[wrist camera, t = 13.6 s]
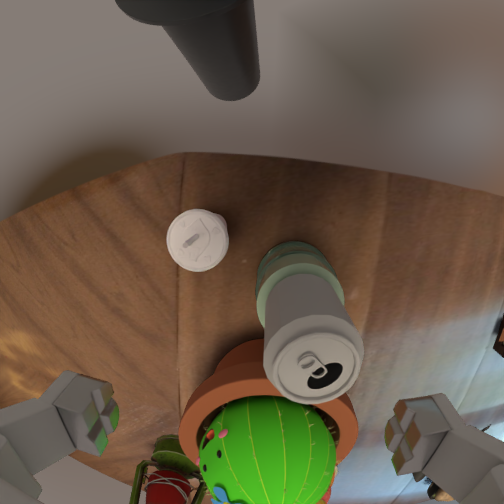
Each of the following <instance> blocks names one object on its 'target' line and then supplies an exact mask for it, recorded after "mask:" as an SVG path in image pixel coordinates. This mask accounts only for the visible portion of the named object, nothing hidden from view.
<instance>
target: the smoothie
mask: <svg viewBox="0 0 504 504" xmlns="http://www.w3.org/2000/svg"><path fill="white" fill-rule="evenodd" d="M228 243H229V237H228V232H227V224H226V221H225V219H224V218H223V217H222V216H221V215H219V214H216V213H212V212H209V211H206V210H203V209H193V210H188V211H186V212H184V213H182V214H180V215H179V216H178V217H176V218H175V219H174V221H173V222H172V223H171V225H170V227H169V229H168V233H167V247H168V250H169V253H170V255H171V256H172V258H173V259H174V261H175V262H176V263H177V264H179V265H180V266H181V267H183V268H185V269H187V270H190V271H196V272H200V271H206V270H209V269H211V268H213V267H215V266H216V265H217V264H218V263H219V262H220V261H221V260H222V259H223V257H224V256H225V254H226V252H227V249H228Z"/></svg>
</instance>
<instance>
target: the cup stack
mask: <svg viewBox="0 0 504 504" xmlns="http://www.w3.org/2000/svg"><path fill="white" fill-rule="evenodd" d="M296 274H313V275H315V276H318V277H321V278H323V279H324V280H325V281H327V282H328V283H329V284H330V285H331V286H332V287H333V289H334V291H335V292H336V294H337V296H338V297H339V299H340V301H341V303H342V304H343V306H344V303H345V301H344V293H343V290H342V287H341V285H340V283H339V281H338V278H337V276H336V273H335V271H334V269H333V268H332V266H331V265H330V264H329V263H328V262H327V260H326V258H325V257H324V255H323V254H322V253H321V252H320V251H319V250H318V249H317V248H316V247H314V246H312V245H310V244H308V243H305V242H301V241H288V242H284V243H281V244H279V245H277V246H275V247H273V248H272V249H271V250H269V251H268V252H267V253H266V254H265V256H264V257H263V259H262V260H261V262H260V265H259V268H258V273H257V282H256V289H255V295H256V301H257V314H258V318H259V320H260V322H261V324H262V326H263V327H264V329H265V305H266V300H267V298H268V296H269V293H270V291H271V290H272V289H273V288H274V287H275V286H276V284H277V283H279V282H280V281H282V280H283V279H285V278H287V277H289V276H293V275H296Z"/></svg>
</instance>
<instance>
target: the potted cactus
mask: <svg viewBox="0 0 504 504" xmlns="http://www.w3.org/2000/svg"><path fill="white" fill-rule="evenodd" d="M263 359H264V339H256V340H251V341H248V342H245V343H243V344H241V345H239V346H237V347H235V348H234V349H232V350H231V351H230V352H229V353H228V354H226V355H225V357H224V358H223V359H222V360H221V361H220V363H219V364H218V366H217V368H216V370H215V372H214V375H212V376H211V377H209V378H208V379H206V380H205V381H204V382H203V383H202V384H201V385H200V386H199V387H198V388H197V389H196V390H195V391H194V393H193V394H192V395H191V397H190V399H189V401H188V403H187V405H186V408H185V411H184V413H183V416H182V419H181V422H180V426H179V442H180V445H181V448H182V450H183V451H184V453H185V454H186V456H187V457H188V458H189V459H190V460H191V461H192V462H193V463H194V464H195V465H197V466H198V467H199V468H200V470H201V474H202V476H203V479H204V481H205V482H206V485H207V487H208V489H209V490H208V491H210V493H211V495H212V496H213V497H214V499H211V500H212V502H213V504H316V503H318V502H319V500H321V498H322V497H323V496H324V494H325V493H326V492H328V491H327V490H328V488H329V486H330V483H331V480H332V476H333V473H334V471H335V472H337V471H336V470H334V469H335V467H336V466H337V465H338V464H339V463H340V462H341V461H342V460H343V459H344V458H345V457H346V456H347V455H348V454H349V452H350V451H351V449H352V448H353V446H354V444H355V442H356V439H357V436H358V422H357V418H356V415H355V412H354V409H353V406H352V403H351V401H350V399H349V397H348V396H347V394H346V393H344V394H343V395H341V396H339V397H337V398H335V399H333V400H331V401H328V402H324V403H320V404H302V403H298V402H294V401H291V400H290V399H288V398H286V397H285V396H283V395H282V394H281V393H280V392H279V391H278V389H277V388H275V386H274V385H273V384H272V383H271V382H270V381H269V379H268V378H267V375H266V373H265V370H264V367H263ZM204 481H203V482H204ZM200 482H201V481H200ZM331 484H333V483H331ZM206 492H207V491H206ZM207 495H208V494H207ZM209 495H210V494H209ZM323 499H324V498H323ZM322 501H324V500H322ZM324 502H325V501H324ZM323 504H324V503H323Z"/></svg>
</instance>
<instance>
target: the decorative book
mask: <svg viewBox="0 0 504 504" xmlns="http://www.w3.org/2000/svg"><path fill="white" fill-rule="evenodd" d="M493 349H494V350H495V351H497V352H498V353H499V354H500V355H501V356H502V357H503V358H504V315H503V318H502V322H501V325H500V329H499V332H498V335H497V338H496V341H495V344H494V347H493Z"/></svg>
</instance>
